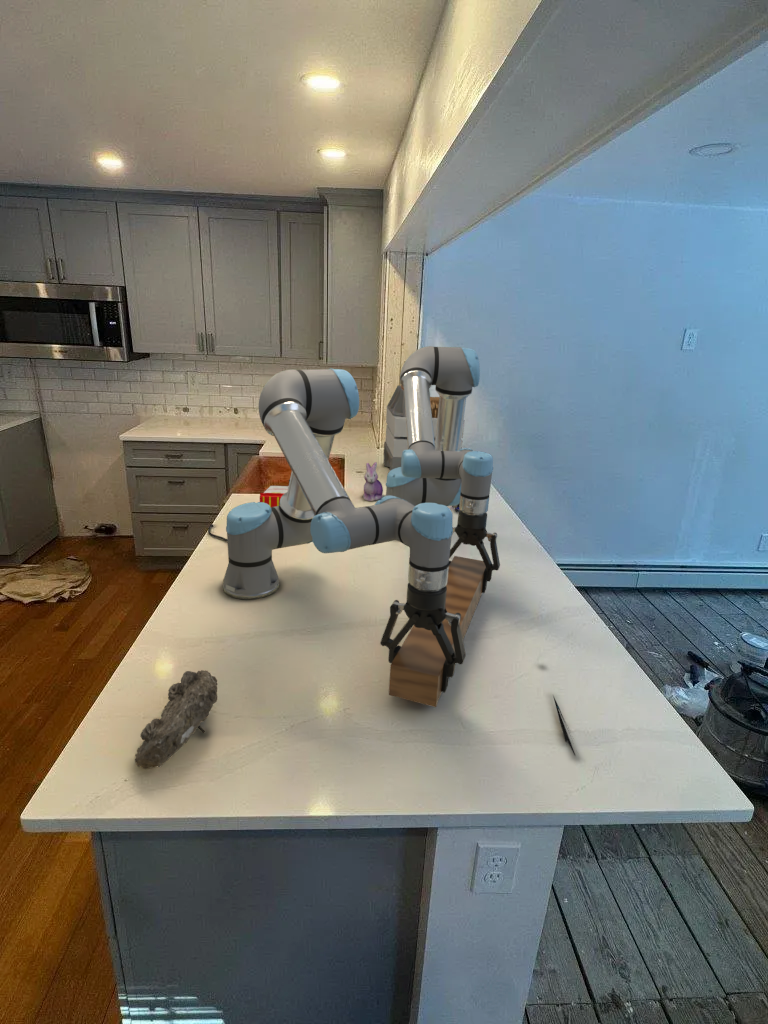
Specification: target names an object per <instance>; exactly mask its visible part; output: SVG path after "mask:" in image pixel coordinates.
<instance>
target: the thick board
mask: <svg viewBox="0 0 768 1024" xmlns="http://www.w3.org/2000/svg"><path fill="white" fill-rule="evenodd" d="M450 561H451V563H450V565H449V570H448V582H447V585H446V587H447V592H446V603H445V608H446V610H447V612H448V613H452V614H456V613H460V614H461V619H460V629H461V634H462V639H463V640H465V636H466V634H467V632H468V629H469V627H470V624H471V622H472V619H473V617H474V614H475V612H476V609H477V607H478V604H479V602H480V599H481V597H482V594H483V593H482V586H483V577H484V570H485V568H486V566H485V564H484V561H483V560H482V559H481V560H480V559H475V558H468V557H463V556H458V555H454V556H453V558H452V560H450ZM442 623H443V626H444V630H445V632H446V634H447V637H448V639H449V641H450V643H451V645H452V647H453V649H454V644H453V639H452V634H451V626H449V624H448V620H447V619H444V620H443V621H442ZM407 634H408V635H406V638H405V639H404V641H403V643H402V644H401V645H400V646H401V648H400V650H399V651H398V653H397V655H396V656H395V658H394V660H393V662H392V663H390V664H389V665H390V666H389V683H388V684H389V685H388V696H391V697H396V698H399V699H403V700H407V701H410V702H414V703H418V704H422V705H426V706H430V707H432V708H433V707H434V708H437V705H438V703H439V700H440V698H441V695H442V693H443V692H441V688H442V678H443V667H444V662H445V660H446V658H445V656H444V654H443V651H442V649H441V647H440V645H439V643H438V641H437V639H436V637H435V636H434V635H433V633H432V631H431V630H426V629H424V628H417V627H415V626H414V625H413V626H412V628H411V629H410V630H409V633H407ZM454 652H455V649H454Z"/></svg>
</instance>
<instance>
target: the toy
mask: <svg viewBox="0 0 768 1024" xmlns="http://www.w3.org/2000/svg"><path fill="white" fill-rule="evenodd" d="M288 486H289V485H270V486H268V488H267V489H265V490H264V492H259V502H264V503H267V504H268V505H269V506H270V507H275V506H279V503H280V499H281V497H282V495H283V494H285V493H286V492H287V491H288Z"/></svg>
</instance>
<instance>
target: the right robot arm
mask: <svg viewBox="0 0 768 1024" xmlns="http://www.w3.org/2000/svg"><path fill="white" fill-rule="evenodd" d="M480 381H481V368H480V359H479V356H478V353H477V351H476V350H475V349H473V348H468V347H463V346H431V345H430V346H423V347H420V348H418V349H416V350H415V351H413V352H412V353H411V354H410V355H409V356H408V357H407V358H406V360H404V362H403V365H402V367H401V370H400V374H399V385H400V386H401V388H402V390H403V391H404V398H405V413H406V428H407V443H408V450H404V451H403V452H402V457H401V467H398V468H395V469H392V470H391V471H390V470H388V473H387V475H386V482H385V487H386V488H385V489H386V490H385V496H395V497H398V498H401V499H404V500H405V501H407V502H409V503H411V504H412V505H414V506H416V505H418V504H421V503H437V504H439V505H440V504H441V505H445V506H447V507H452V506H456V505H458V504H459V509H460V510H458V512H457V513H458V515H457V524H456V526H452V529H453V533H452V535H453V534H454V533H455V535H456V536H457V538H458V539H457V540H456V542H455V543H454V544H453V545H452V546H451V547H450V557H449V565H450V563H451V561H452V560H450V559H451V557H452V556H453V555H454V553H455V552H456V551H457V550H458V548H459V547H460V546H461V545H462V544H463V545H469V546H473V547H476V549H477V550H478V553H479V555H480V557H481V560H482V561H484V564H485V566H486V568H485V570H484V577H483V586H482V594H485V593H486V591H487V585H488V582H491V581H492V576H493V571H499V569H500V567H501V562H500V557H499V551H498V545H497V544H498V543H497V539H498V533H497V532H489V531H487V521H488V513H487V512H488V511H489V503H490V493H491V485H492V479H493V478H492V476H493V472H494V457H493V455H492V454H490V453H487V452H485V451H480V450H473V449H472V448H469V447H467V448H466V447H462V449H460V444H461V440H462V438H461V436H462V428H463V420H465V411H466V404H467V398H468V397H469V396H470V395H472V393H473V388H476V387H478V386H479V385H480ZM432 386H435V388H434V389H435V392H436V393H437V394H438V395H439V396H438V397H439V406H438V416H437V426H436V436H435V442H434V432H433V422H432V412H431V402H430V397H431V393H430V389H431V387H432ZM289 482H290V479H288V483H289ZM485 538H487V541H488V542H489V546H490V552H491V553H490V554H491V557H492V560H491V557H490V555H489V553H488V551H487V549H486V546H485V543H484V539H485Z"/></svg>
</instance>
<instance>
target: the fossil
mask: <svg viewBox="0 0 768 1024" xmlns="http://www.w3.org/2000/svg"><path fill="white" fill-rule="evenodd" d="M167 698H168V701H167V703H166V705H165V706H164V708H163V709H162V712H161V714H160V718H157V717H156V718H153V719H152V720H151V721H150V722H149V723H147V724H146V725H145V727H144V728H143V729H142V731H141V733H140V738H141V740H142V743H141V744H140V746H139V747H138V748H137V749H136V753H135V755H134V756H135V757H134V762H135V764H136V766H137V767H141V768H142V769H143V770H144V769H145V770H146V769H151V768H156V767H157V768H161V767H162V766H163V765H165V763H166V762H167V761H168V760H169V759H171V758H172V757H173V756H174V755H175V754H177V752H178V751H179V750H180V749H181V748H182V747H184V746H185V744H187V743H188V741H189V739H190V737H191V736H192V735H193V734H195V732H196V731H197V730H199V731H200V732H201V733H202V734H205V733H206V730H205V729H204V728H203V726H201V723H202V722H205V721H206V720H207V718H208V717H209V716H210V712H211V711H212V709H213V707H214V705H215V703H217V702H218V679H217V677H216V676H215V675H212V674H211V672H209V670H206V669H205V670H203V669H202V670H198V671H197V672H195V671H191V670H185V672H183V674H182V677H181V678H180V682H177V683H173V684H172V685H171V686H170V687H169V688H168V693H167Z"/></svg>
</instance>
